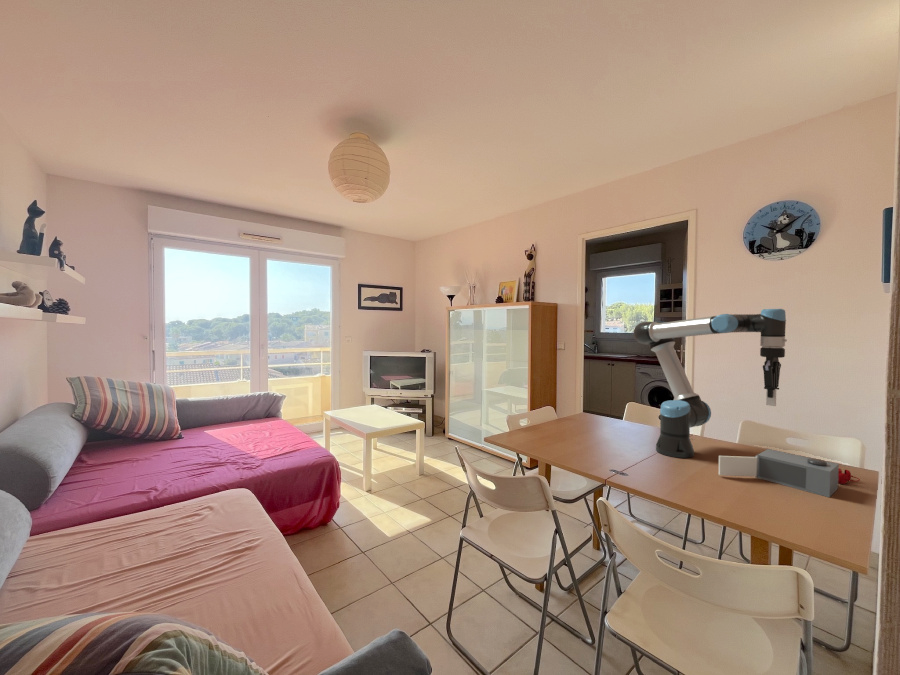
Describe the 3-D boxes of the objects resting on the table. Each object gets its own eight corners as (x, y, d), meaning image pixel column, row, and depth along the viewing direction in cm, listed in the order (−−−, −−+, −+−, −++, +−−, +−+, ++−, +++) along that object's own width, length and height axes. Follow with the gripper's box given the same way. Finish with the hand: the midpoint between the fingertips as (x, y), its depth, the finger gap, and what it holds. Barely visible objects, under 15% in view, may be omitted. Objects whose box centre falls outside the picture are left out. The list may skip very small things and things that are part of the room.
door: (755, 475, 145) (755, 454, 145) (759, 478, 143) (759, 456, 143) (716, 474, 147) (717, 453, 147) (719, 476, 145) (720, 455, 145)
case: (756, 477, 144) (757, 452, 144) (767, 470, 151) (768, 446, 151) (829, 497, 128) (830, 468, 127) (838, 488, 134) (838, 461, 134)
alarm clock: (807, 460, 153) (859, 463, 140) (811, 476, 152) (864, 480, 139) (797, 465, 148) (851, 469, 135) (801, 481, 147) (856, 487, 134)
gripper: (779, 348, 144) (777, 409, 144) (789, 347, 151) (788, 404, 152) (754, 347, 150) (753, 405, 151) (766, 346, 157) (765, 401, 158)
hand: (771, 405), depth 151 cm, fingers closed
